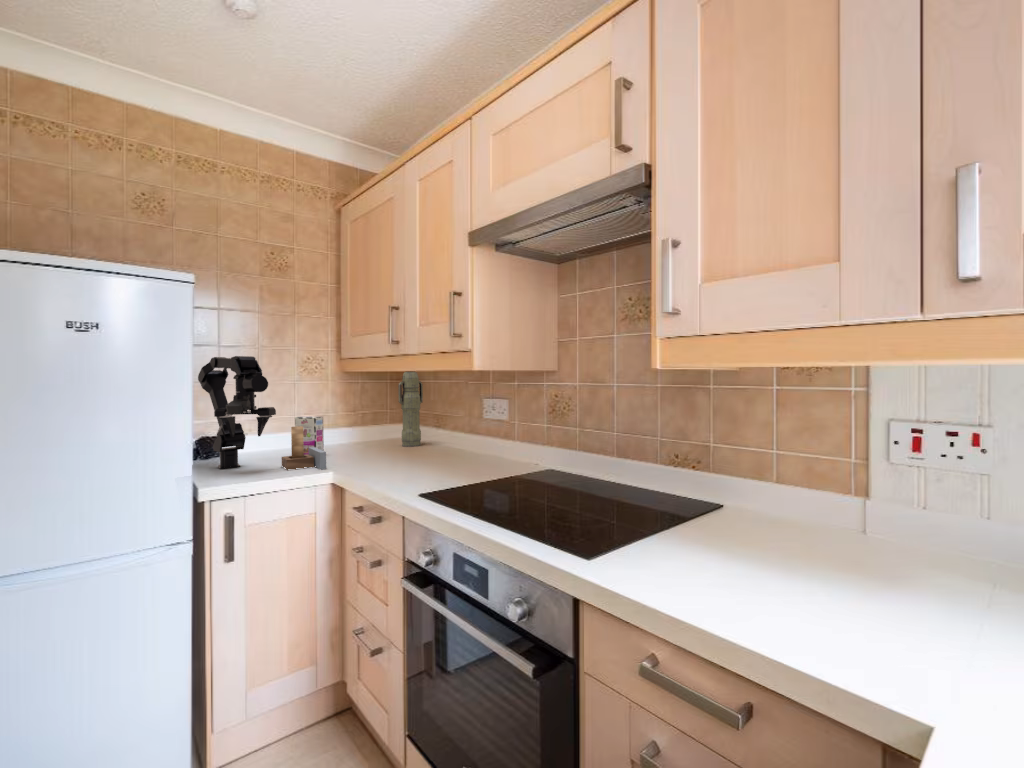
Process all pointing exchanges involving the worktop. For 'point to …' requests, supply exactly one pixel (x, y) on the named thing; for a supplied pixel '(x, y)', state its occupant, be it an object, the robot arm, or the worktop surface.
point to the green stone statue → (411, 408)
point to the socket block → (297, 462)
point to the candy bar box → (311, 432)
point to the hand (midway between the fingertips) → (246, 436)
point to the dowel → (297, 442)
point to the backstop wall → (318, 457)
